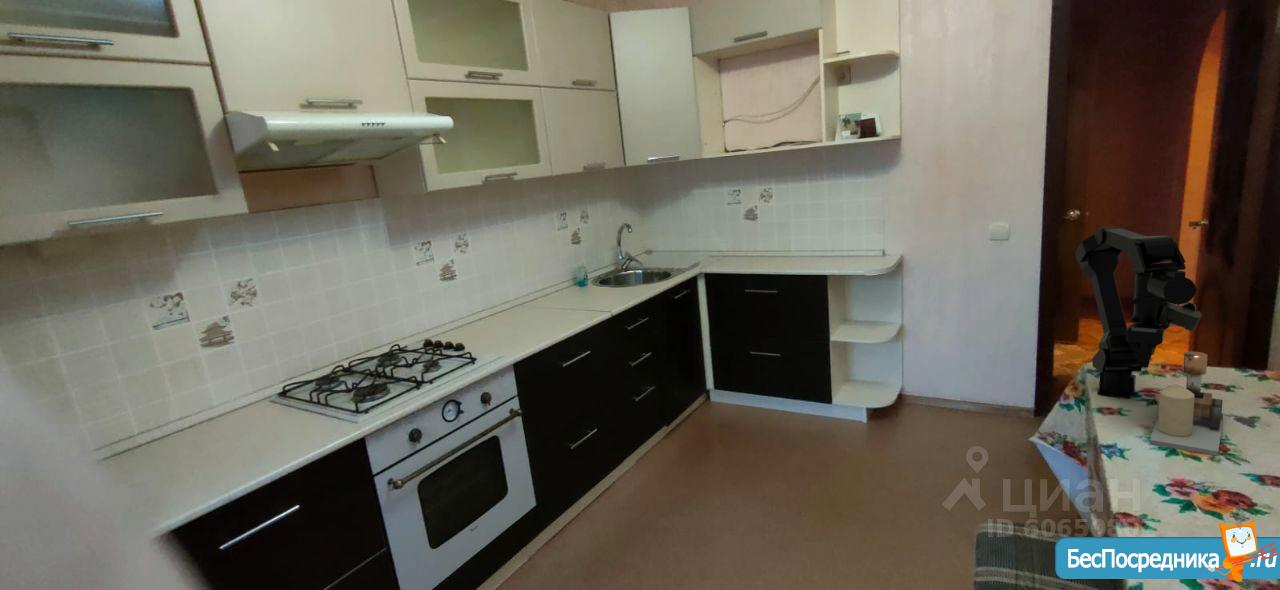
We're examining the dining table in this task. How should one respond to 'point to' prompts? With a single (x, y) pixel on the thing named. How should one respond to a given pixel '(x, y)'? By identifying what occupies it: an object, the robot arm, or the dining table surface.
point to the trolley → (1208, 409)
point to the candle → (1176, 411)
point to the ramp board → (1191, 437)
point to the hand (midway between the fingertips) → (1147, 360)
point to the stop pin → (1194, 370)
